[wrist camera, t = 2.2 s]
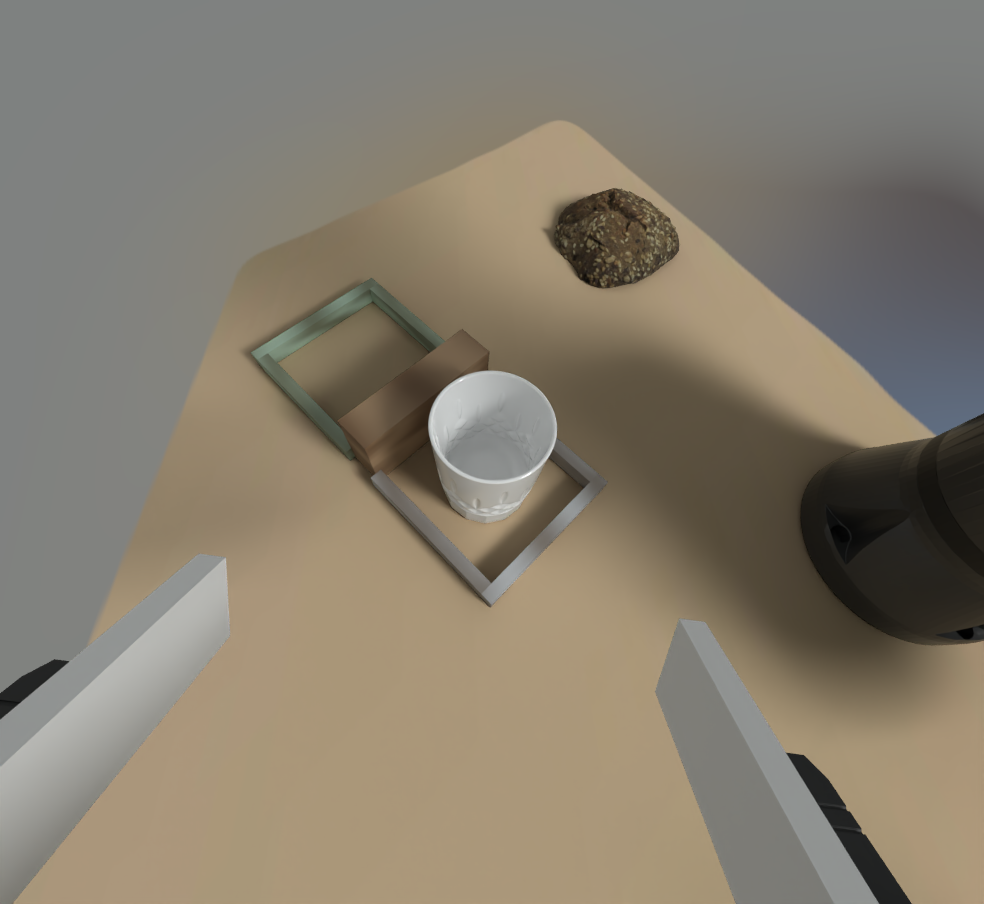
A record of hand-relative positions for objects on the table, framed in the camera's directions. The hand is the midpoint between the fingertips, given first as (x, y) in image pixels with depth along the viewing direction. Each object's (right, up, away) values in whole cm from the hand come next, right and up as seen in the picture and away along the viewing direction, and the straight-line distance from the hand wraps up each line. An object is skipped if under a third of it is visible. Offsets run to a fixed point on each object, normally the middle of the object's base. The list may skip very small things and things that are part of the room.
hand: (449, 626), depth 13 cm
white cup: (+1, +2, +24) cm, 24 cm away
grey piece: (-5, +7, +25) cm, 27 cm away
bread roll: (+14, +28, +37) cm, 48 cm away
